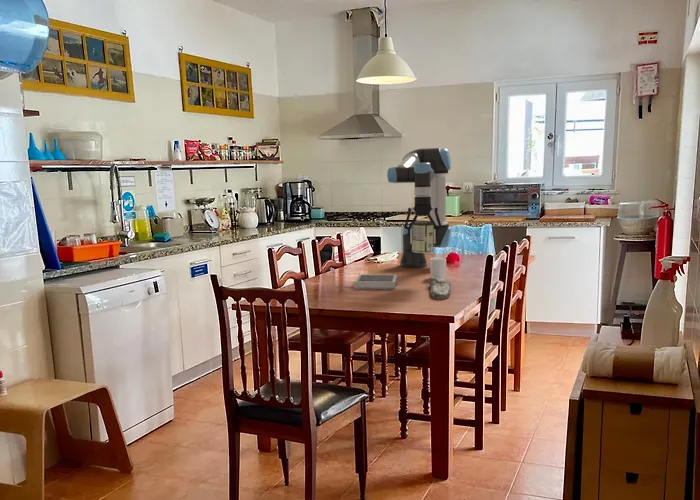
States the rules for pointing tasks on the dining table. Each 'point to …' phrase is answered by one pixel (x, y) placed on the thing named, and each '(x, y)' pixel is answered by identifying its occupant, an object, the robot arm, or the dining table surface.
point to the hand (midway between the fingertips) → (422, 243)
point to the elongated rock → (439, 288)
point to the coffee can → (422, 236)
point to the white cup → (437, 267)
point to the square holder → (376, 282)
